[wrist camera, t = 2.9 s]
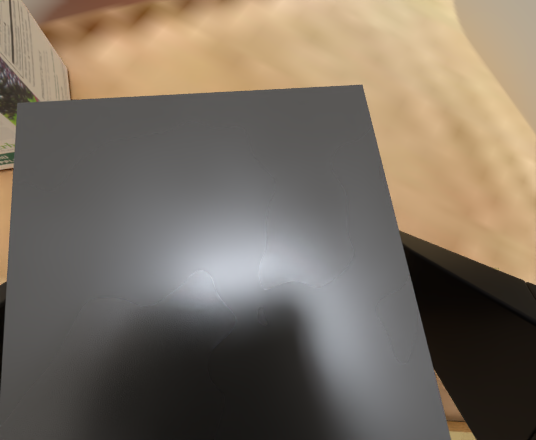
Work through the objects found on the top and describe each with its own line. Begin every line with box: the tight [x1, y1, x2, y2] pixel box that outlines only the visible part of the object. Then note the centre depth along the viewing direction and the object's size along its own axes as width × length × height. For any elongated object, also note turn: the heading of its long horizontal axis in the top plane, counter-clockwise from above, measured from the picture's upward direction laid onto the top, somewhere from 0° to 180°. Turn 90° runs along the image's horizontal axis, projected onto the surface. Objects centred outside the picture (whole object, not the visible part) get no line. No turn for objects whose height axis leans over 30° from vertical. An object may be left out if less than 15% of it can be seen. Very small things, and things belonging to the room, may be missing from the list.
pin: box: [0, 85, 451, 440], centre depth 10 cm, size 5×5×12 cm
